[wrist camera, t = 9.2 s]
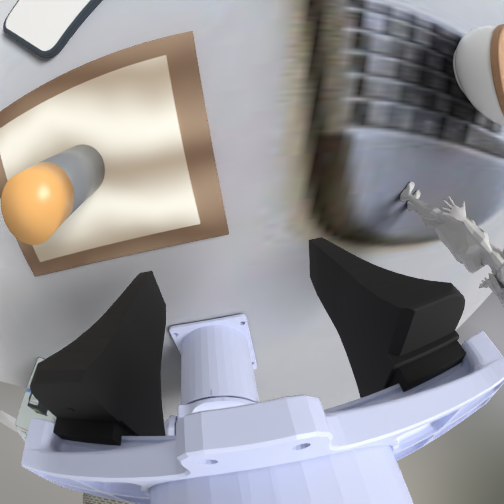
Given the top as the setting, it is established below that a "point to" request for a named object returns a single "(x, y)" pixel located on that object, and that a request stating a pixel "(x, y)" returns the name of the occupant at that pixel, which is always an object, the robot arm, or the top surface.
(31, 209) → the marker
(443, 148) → the top surface
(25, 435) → the ink box
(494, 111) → the lidded jar
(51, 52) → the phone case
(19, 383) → the top surface
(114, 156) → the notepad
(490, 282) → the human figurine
